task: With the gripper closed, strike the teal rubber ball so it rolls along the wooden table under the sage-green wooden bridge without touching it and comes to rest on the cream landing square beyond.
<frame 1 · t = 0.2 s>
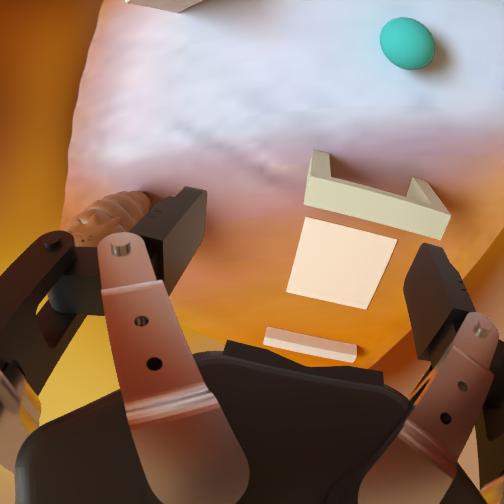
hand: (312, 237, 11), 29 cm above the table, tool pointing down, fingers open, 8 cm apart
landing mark: (339, 266, 45), on the table
stopper: (311, 339, 54), on the table
bridge: (369, 175, 37), on the table
ball: (407, 43, 25), on the table
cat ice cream: (142, 198, 46), on the table
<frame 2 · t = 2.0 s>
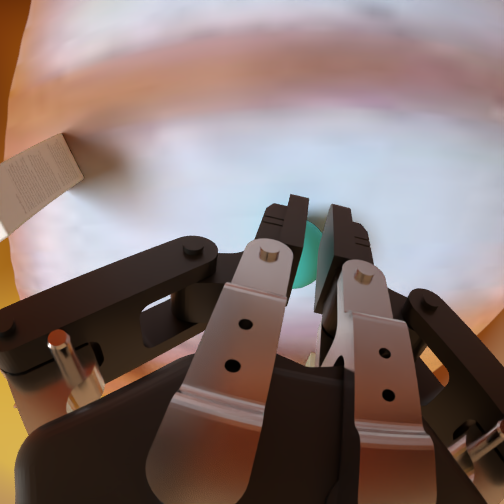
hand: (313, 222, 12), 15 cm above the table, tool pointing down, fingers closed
skincare box: (64, 162, 31), on the table
ball: (292, 253, 28), on the table
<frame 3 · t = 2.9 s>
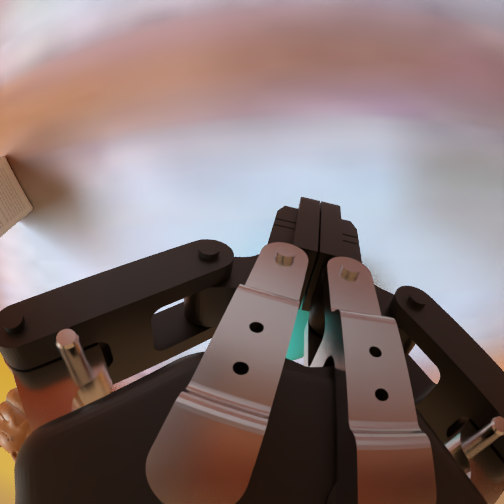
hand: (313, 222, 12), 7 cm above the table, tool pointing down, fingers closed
skincare box: (12, 189, 24), on the table
ball: (283, 314, 21), on the table
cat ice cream: (58, 363, 42), on the table
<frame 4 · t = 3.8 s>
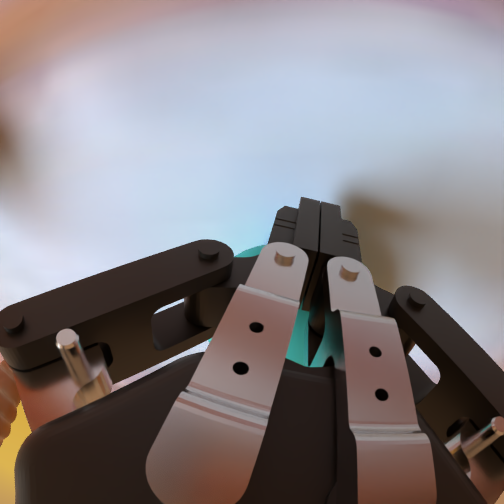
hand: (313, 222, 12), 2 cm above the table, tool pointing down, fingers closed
ball: (274, 314, 14), on the table, touching gripper
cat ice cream: (20, 361, 34), on the table
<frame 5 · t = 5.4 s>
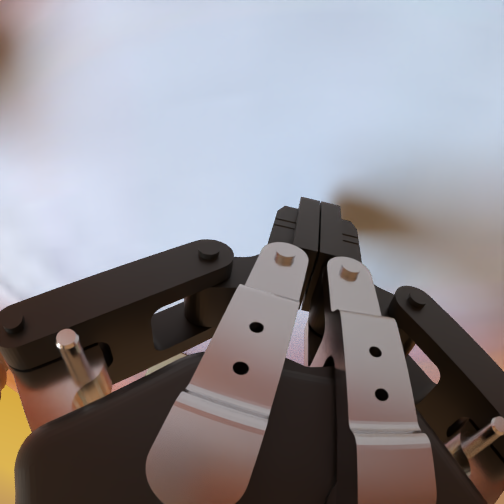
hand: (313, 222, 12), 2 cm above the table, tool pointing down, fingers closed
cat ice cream: (7, 339, 30), on the table
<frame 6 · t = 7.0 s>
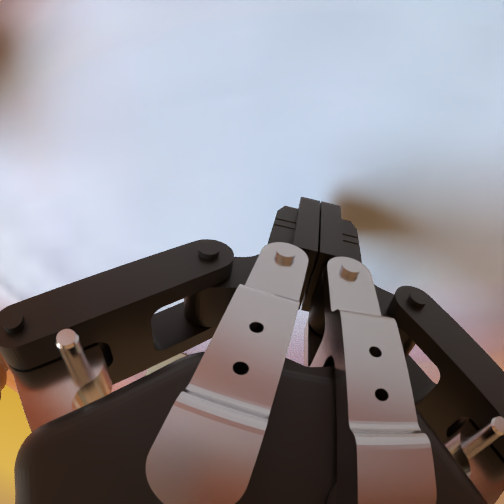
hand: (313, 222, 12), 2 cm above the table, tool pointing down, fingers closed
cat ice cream: (7, 339, 30), on the table
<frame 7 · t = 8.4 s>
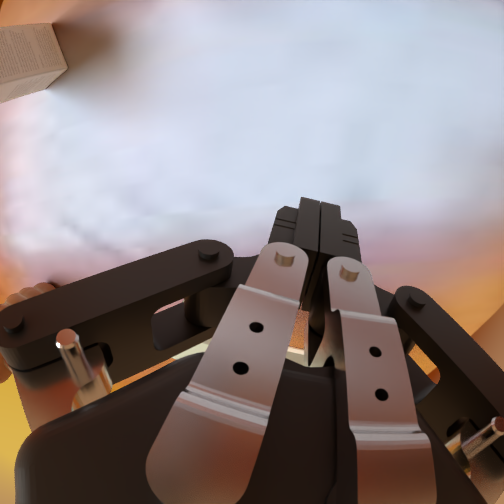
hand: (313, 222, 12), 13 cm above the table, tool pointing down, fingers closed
bridge: (280, 290, 31), on the table
skincare box: (48, 56, 22), on the table
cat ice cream: (53, 286, 39), on the table
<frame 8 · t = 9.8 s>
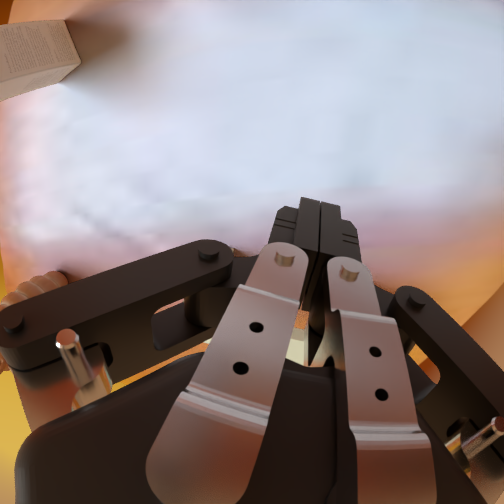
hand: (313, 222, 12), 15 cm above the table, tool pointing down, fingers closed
bridge: (285, 273, 33), on the table
skincare box: (61, 52, 24), on the table
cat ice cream: (62, 275, 41), on the table
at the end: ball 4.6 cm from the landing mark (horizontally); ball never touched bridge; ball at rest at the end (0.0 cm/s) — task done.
